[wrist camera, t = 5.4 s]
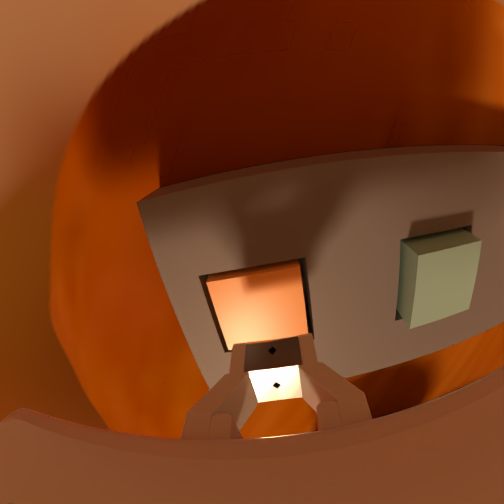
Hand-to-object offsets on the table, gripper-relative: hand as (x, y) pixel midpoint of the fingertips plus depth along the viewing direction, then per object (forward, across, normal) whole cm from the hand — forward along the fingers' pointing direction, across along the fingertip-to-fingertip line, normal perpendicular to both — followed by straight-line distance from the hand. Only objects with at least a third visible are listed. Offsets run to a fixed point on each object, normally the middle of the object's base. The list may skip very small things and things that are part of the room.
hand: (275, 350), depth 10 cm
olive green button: (+3, +8, 0) cm, 9 cm away
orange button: (+4, -1, 0) cm, 4 cm away
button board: (+6, +8, 0) cm, 10 cm away
